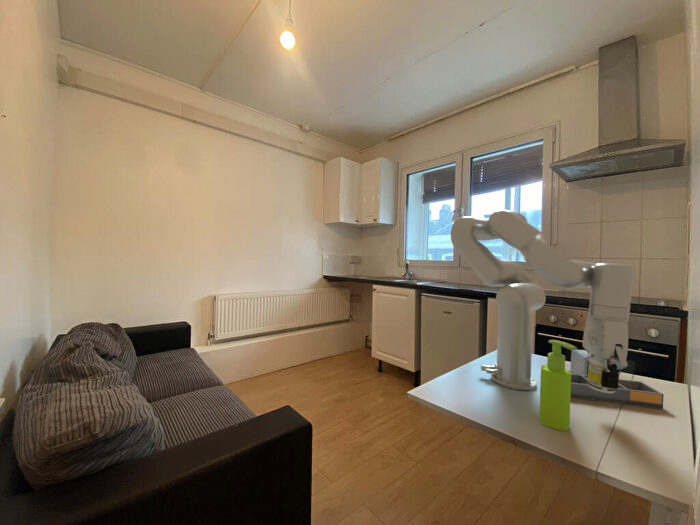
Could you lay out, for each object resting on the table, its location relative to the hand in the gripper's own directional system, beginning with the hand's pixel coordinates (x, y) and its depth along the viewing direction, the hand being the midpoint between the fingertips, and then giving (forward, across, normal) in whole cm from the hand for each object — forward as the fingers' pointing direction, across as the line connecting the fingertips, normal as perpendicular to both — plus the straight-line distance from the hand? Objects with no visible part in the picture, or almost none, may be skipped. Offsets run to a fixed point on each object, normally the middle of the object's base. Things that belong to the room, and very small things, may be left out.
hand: (601, 380), depth 71 cm
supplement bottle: (+2, 0, 0) cm, 2 cm away
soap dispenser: (+9, +9, -13) cm, 18 cm away
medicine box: (+9, -24, +8) cm, 27 cm away
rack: (+9, -12, +7) cm, 16 cm away
